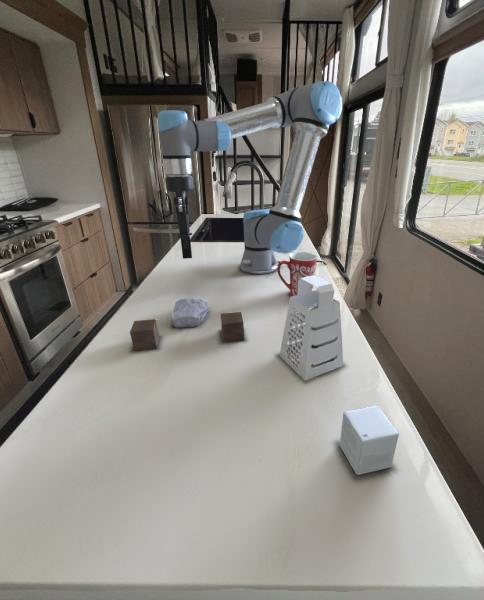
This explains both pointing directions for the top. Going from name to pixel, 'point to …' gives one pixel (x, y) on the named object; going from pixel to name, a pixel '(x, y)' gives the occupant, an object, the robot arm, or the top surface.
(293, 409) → the top surface
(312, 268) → the mug
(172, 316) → the stone block
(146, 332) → the walnut block
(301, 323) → the grater
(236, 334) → the walnut block
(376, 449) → the product box
